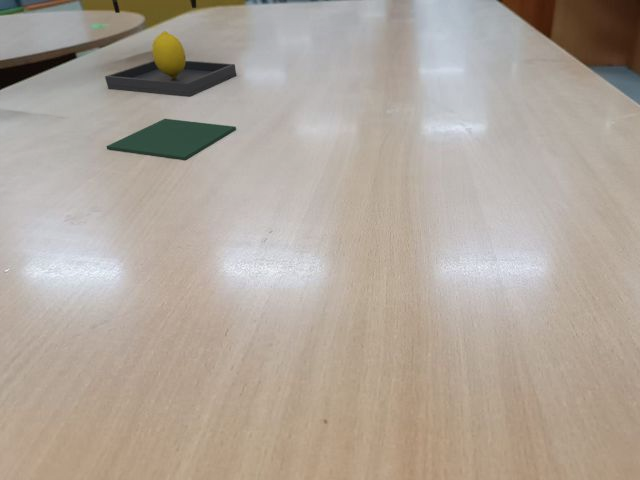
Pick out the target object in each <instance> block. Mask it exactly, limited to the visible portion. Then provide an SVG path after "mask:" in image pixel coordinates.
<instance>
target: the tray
mask: <svg viewBox="0 0 640 480" xmlns="http://www.w3.org/2000/svg"><path fill="white" fill-rule="evenodd" d="M236 69H237V68H236V64H235V63H223V62H222V63H221V62H209V61H196V60H195V61H194V60H186V64H185V67H184V69H183V71H182V72H181V73H179V74H178V75H177V77H176V78H171V77H170V76H169V75H167V74H164V73H163V72H161V71H160V70H159V69H158V67H157V66H156V64H155V62H154V60H152V61H148V62H145V63H142V64H139V65H135V66H133V67H130V68H126V69H124V70H120V71H117V72H115V73H111V74H108V75H105V76H104V79H105V82H106V86H107V89H108V90H109V89H110V90H118V91H119V90H120V91H129V92H138V93H140V92H141V93H148V94H149V93H150V94H160V95H169V96H170V95H171V96H180V97H192V96H194V95H196V94H198V92H199V93H202V92H203V91H206V90H208V89H210V88H212V87H214V86H217V85H218V84H221V83H223V82H225V81H227V80H230V79H233V78H234V77H237V70H236Z"/></svg>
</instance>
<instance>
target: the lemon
mask: <svg viewBox="0 0 640 480" xmlns="http://www.w3.org/2000/svg"><path fill="white" fill-rule="evenodd" d="M151 49H152V50H151V52H152V58H153V61H154V62H155V64H156V66H157V67H158V69H159V70H160V71H161V72H163V73H164V74H167V75H169V76H170V77H171V78H176V77H177V75H178V74H179V73H181V72H182V71H183V69H184V67H185V64H186V61H187V58H186V52H185V49H184V47H183V45H182V42H181V41H180V40H179V38H177V37H176V36H175V35H174V34H171V33H168V31H165V30H164V31H162V32H161V33H160V34H158V35H157V36H156V37H155V38H154V40H153V42H152V48H151Z"/></svg>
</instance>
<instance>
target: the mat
mask: <svg viewBox="0 0 640 480" xmlns="http://www.w3.org/2000/svg"><path fill="white" fill-rule="evenodd" d="M236 130H237V127H236V126H234V125H233V126H232V125H225V124H216V123H215V124H214V123H207V122H199V121H190V120H189V121H188V120H179V119H172V118H163V119H161V120H158V121H156V122H154V123H152V124H151V125H147V126H146V127H144V128H142V129H139V130H137V131H136V132H133V133H132V134H129V135H127V136H125V137H124V138H121V139H119V140H116V141H115V142H112V143H110V144H108V145H106V150H112V151H118V152H119V151H120V152H125V153H132V154H140V155H147V156H155V157H162V158H169V159H175V160H182V161H187V160H188V159H189V158H191V157H192V156H194V155H196V154H198V153H199V152H201V151H203V150H205V149H206V148H208V147H209V146H211V145H212V144H214V143H216V142H218V141H219V140H221V139H223V138H225V137H226V136H228V135H229V134H231V133H232V132H234V131H236Z"/></svg>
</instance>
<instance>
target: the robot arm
mask: <svg viewBox="0 0 640 480" xmlns="http://www.w3.org/2000/svg"><path fill="white" fill-rule="evenodd" d="M111 1H112V6H113V8H114V12H115V13H114V14H119V13H121V11H120V6H119V3H118V0H111ZM189 1H190V6H191V8H192V9H196V8H197V0H189Z"/></svg>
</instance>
